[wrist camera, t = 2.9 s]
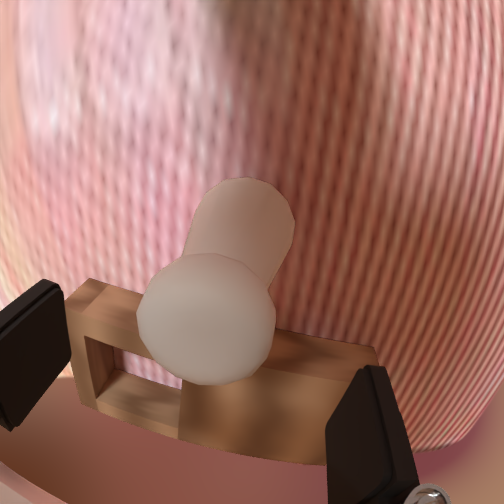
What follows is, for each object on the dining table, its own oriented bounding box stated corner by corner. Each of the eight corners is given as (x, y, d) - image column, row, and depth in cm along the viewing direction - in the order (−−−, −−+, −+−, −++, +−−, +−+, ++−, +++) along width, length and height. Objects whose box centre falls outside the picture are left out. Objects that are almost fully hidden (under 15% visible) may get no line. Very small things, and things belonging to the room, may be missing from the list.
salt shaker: (187, 214, 21) (77, 330, 9) (246, 151, 19) (174, 203, 7) (250, 272, 22) (211, 430, 10) (312, 217, 20) (343, 355, 8)
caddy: (373, 347, 23) (385, 386, 19) (323, 430, 28) (325, 465, 24) (89, 278, 24) (59, 305, 20) (100, 374, 29) (81, 403, 25)
